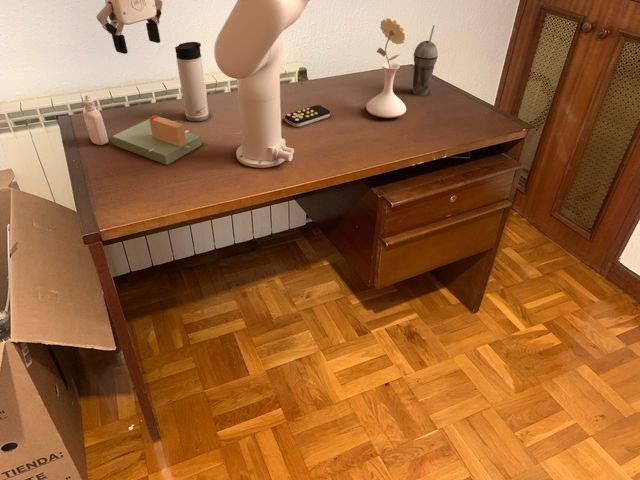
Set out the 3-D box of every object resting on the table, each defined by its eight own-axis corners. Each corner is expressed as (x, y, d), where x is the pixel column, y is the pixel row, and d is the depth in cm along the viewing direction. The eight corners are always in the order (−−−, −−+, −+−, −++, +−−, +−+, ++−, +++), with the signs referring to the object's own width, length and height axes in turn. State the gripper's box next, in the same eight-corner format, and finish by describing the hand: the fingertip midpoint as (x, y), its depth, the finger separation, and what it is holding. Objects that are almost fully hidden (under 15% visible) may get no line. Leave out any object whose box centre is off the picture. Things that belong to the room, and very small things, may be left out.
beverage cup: (404, 89, 155) (413, 22, 143) (425, 87, 157) (435, 21, 145) (414, 98, 150) (424, 29, 137) (435, 96, 152) (447, 28, 139)
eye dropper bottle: (90, 147, 121) (76, 100, 113) (90, 137, 125) (77, 91, 118) (109, 144, 122) (96, 98, 115) (108, 135, 126) (96, 90, 119)
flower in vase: (412, 118, 138) (426, 25, 123) (376, 124, 135) (386, 29, 119) (390, 101, 148) (401, 12, 132) (356, 106, 144) (363, 15, 129)
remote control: (332, 116, 138) (332, 110, 137) (296, 128, 131) (296, 121, 130) (318, 109, 142) (318, 103, 140) (282, 121, 135) (282, 114, 134)
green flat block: (209, 146, 123) (208, 136, 121) (171, 168, 114) (169, 158, 112) (151, 126, 130) (150, 117, 129) (112, 146, 122) (109, 136, 120)
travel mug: (205, 123, 133) (194, 47, 121) (182, 120, 134) (169, 45, 122) (213, 113, 138) (204, 40, 125) (191, 111, 139) (180, 38, 126)
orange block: (186, 143, 118) (183, 123, 115) (180, 147, 117) (176, 126, 113) (159, 134, 122) (155, 114, 118) (152, 137, 120) (148, 117, 117)
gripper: (98, -30, 95) (119, 60, 105) (164, -41, 106) (178, 40, 117) (73, -34, 98) (96, 54, 108) (140, -45, 109) (155, 35, 120)
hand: (139, 47), depth 113 cm, fingers open, 9 cm apart
